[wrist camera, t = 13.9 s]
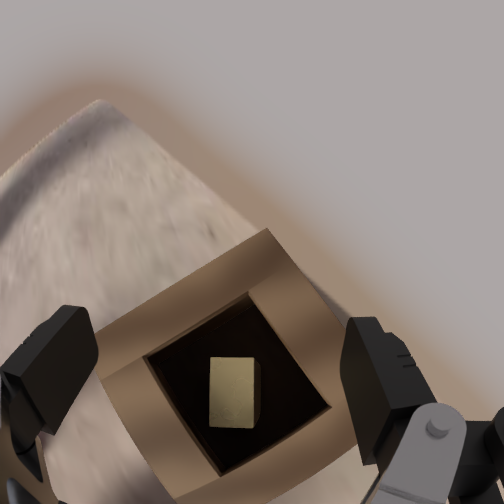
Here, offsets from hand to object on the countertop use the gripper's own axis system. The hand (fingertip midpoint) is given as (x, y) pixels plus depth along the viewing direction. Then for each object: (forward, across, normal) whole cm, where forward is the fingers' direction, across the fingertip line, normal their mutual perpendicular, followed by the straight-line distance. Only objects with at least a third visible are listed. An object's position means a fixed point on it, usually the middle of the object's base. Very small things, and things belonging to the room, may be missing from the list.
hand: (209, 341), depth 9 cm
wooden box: (+15, 0, +17) cm, 23 cm away
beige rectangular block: (+15, 0, +17) cm, 23 cm away
